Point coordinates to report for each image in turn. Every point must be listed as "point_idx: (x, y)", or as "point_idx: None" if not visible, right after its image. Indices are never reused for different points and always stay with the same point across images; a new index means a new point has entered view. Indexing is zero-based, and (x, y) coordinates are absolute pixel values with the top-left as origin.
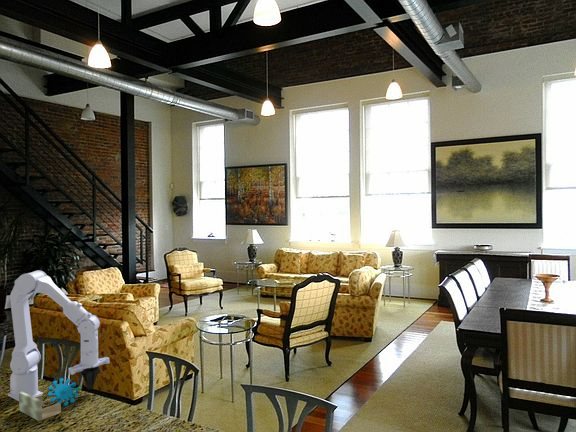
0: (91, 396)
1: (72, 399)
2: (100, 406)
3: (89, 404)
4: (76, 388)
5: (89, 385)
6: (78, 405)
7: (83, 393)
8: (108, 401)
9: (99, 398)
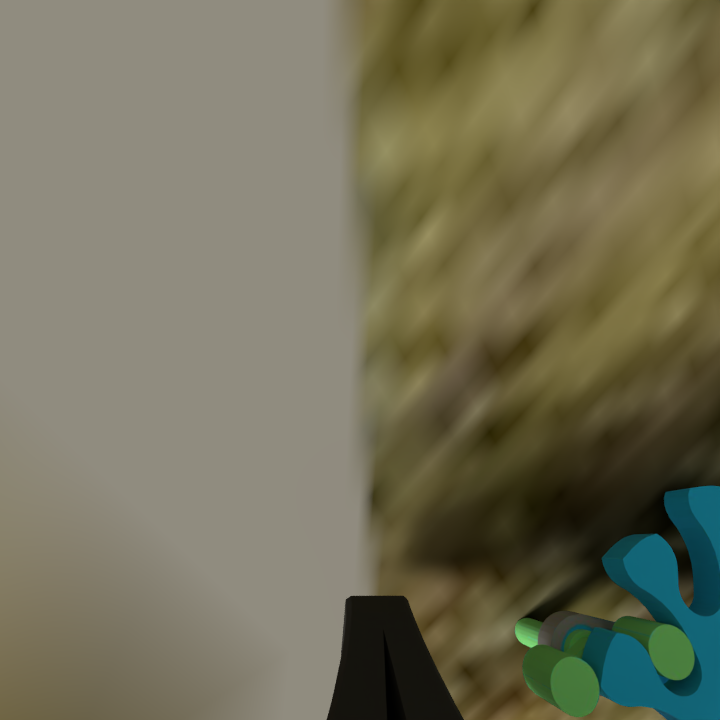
0: (417, 483)
1: (714, 525)
2: (655, 5)
3: (641, 272)
4: (635, 692)
5: (430, 660)
6: (712, 377)
7: None
8: (424, 75)
9: (411, 335)
